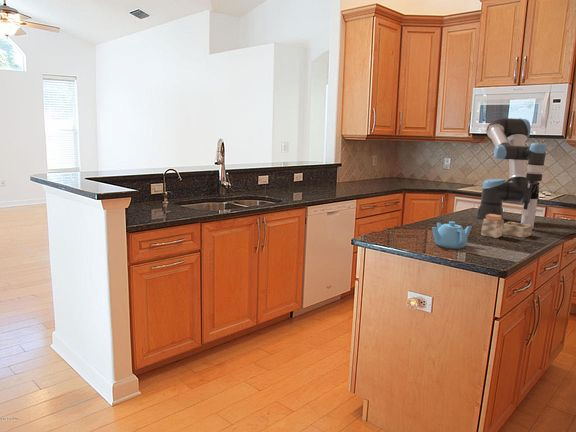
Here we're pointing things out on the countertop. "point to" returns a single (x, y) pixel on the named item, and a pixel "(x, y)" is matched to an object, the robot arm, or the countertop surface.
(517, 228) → the dock
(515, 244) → the countertop surface
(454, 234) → the teapot
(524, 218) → the travel mug
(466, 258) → the countertop surface
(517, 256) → the countertop surface
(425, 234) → the countertop surface
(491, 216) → the orange square panel
